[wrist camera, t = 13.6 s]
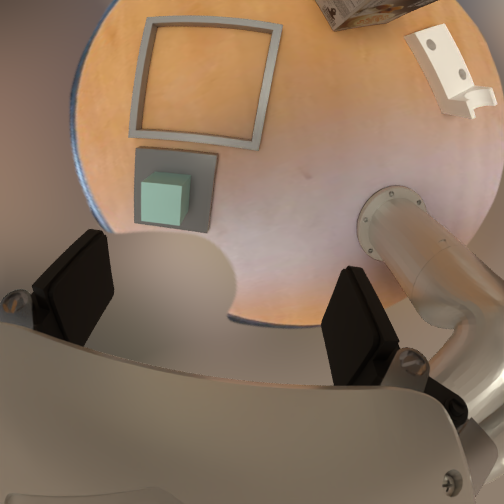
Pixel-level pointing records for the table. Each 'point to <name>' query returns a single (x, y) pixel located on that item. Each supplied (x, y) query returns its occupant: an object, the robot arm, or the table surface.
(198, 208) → the slate board
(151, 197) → the teal cube
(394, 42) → the table surface
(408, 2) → the coffee box
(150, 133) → the low bin
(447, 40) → the bracket
